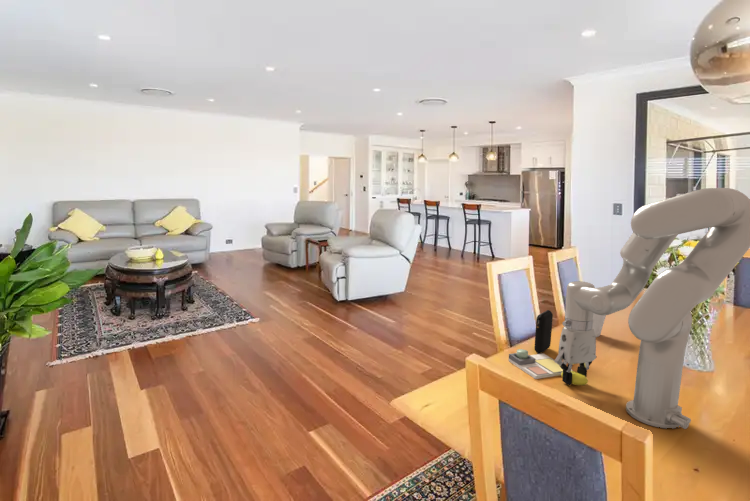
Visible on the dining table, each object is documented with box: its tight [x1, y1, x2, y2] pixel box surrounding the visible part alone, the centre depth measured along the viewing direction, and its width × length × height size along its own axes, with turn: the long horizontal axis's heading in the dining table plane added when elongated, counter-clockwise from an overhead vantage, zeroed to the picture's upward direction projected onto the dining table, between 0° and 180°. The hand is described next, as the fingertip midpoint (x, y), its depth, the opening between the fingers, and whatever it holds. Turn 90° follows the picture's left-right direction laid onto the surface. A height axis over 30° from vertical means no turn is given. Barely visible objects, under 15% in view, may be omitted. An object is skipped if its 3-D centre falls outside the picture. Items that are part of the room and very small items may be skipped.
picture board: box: [508, 352, 574, 380], centre depth 141 cm, size 14×14×2 cm
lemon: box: [560, 370, 589, 386], centre depth 129 cm, size 4×8×4 cm, turn 33°
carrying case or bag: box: [533, 309, 554, 354], centre depth 152 cm, size 11×3×15 cm, turn 137°
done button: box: [516, 348, 529, 359], centre depth 143 cm, size 4×4×2 cm
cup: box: [592, 313, 607, 338], centre depth 170 cm, size 10×10×11 cm
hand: (574, 381), depth 129 cm, fingers closed on lemon, 4 cm apart
